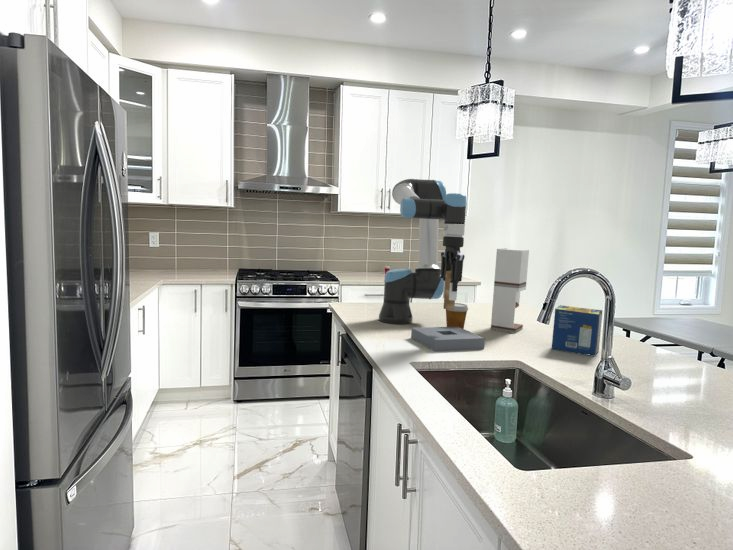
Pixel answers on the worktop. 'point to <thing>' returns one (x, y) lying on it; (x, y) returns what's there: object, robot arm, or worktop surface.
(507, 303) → the white banded pillar
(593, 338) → the protein box
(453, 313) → the disposable coffee cup
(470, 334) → the socket block
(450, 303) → the oak peg
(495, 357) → the worktop surface
